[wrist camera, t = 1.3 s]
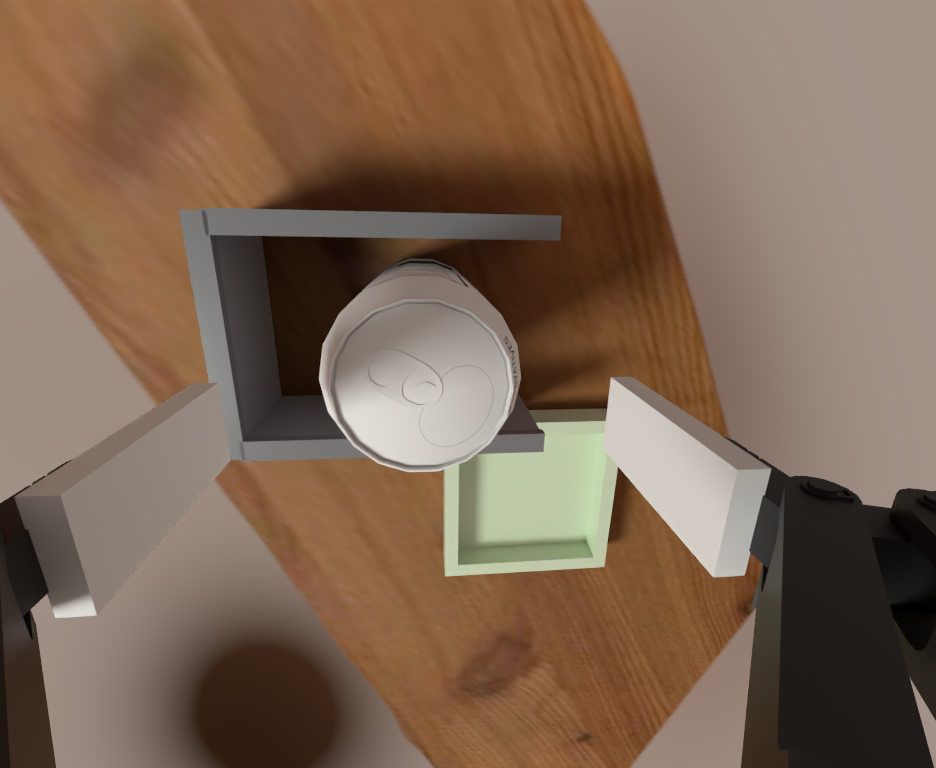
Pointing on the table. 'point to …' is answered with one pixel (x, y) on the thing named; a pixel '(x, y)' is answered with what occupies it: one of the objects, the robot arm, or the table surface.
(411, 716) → the table surface
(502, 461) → the tray
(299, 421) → the dock
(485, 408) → the supplement can
